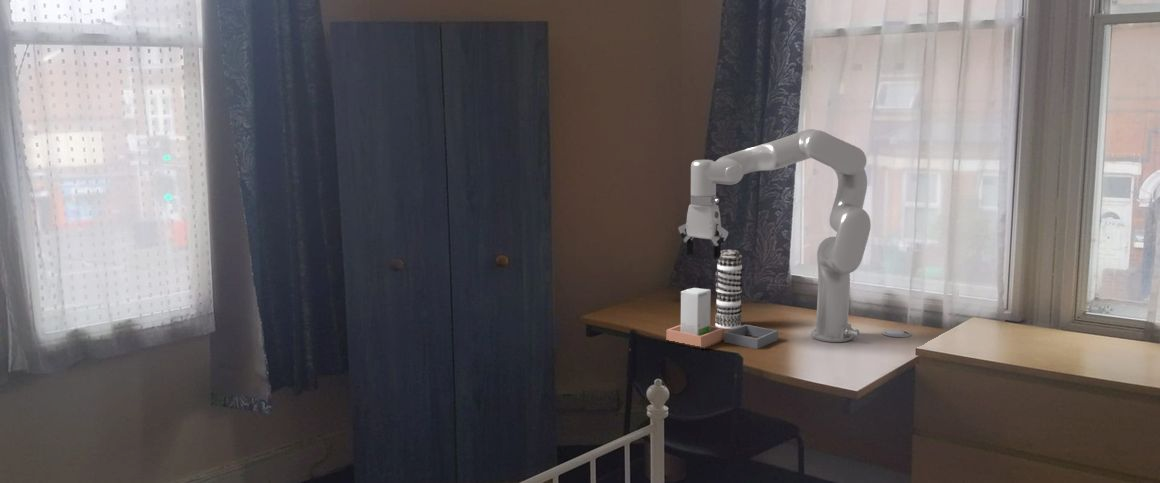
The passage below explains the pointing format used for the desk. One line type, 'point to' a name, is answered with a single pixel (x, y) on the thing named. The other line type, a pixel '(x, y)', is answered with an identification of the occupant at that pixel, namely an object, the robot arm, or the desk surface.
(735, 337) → the frame
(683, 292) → the skincare box
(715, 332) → the terracotta bin
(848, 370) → the desk surface
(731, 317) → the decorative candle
